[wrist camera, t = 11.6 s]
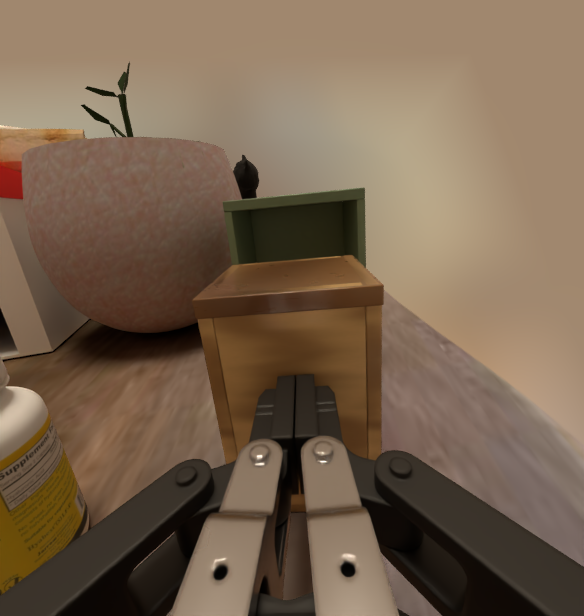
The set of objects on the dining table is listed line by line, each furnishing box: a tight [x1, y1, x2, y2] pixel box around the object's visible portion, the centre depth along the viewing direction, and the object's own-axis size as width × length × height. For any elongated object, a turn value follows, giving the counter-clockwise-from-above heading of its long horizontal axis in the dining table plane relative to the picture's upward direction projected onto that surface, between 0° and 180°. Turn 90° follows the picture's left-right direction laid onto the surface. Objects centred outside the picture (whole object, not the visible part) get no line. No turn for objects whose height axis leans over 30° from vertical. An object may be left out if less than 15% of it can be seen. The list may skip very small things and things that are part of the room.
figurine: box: [233, 155, 259, 199], centre depth 64 cm, size 11×13×25 cm
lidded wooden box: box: [192, 255, 384, 512], centre depth 16 cm, size 7×7×11 cm
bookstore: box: [0, 165, 90, 360], centre depth 47 cm, size 21×35×21 cm, turn 15°
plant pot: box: [22, 63, 242, 333], centre depth 38 cm, size 24×24×30 cm
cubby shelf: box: [222, 188, 366, 268], centre depth 29 cm, size 11×9×15 cm
